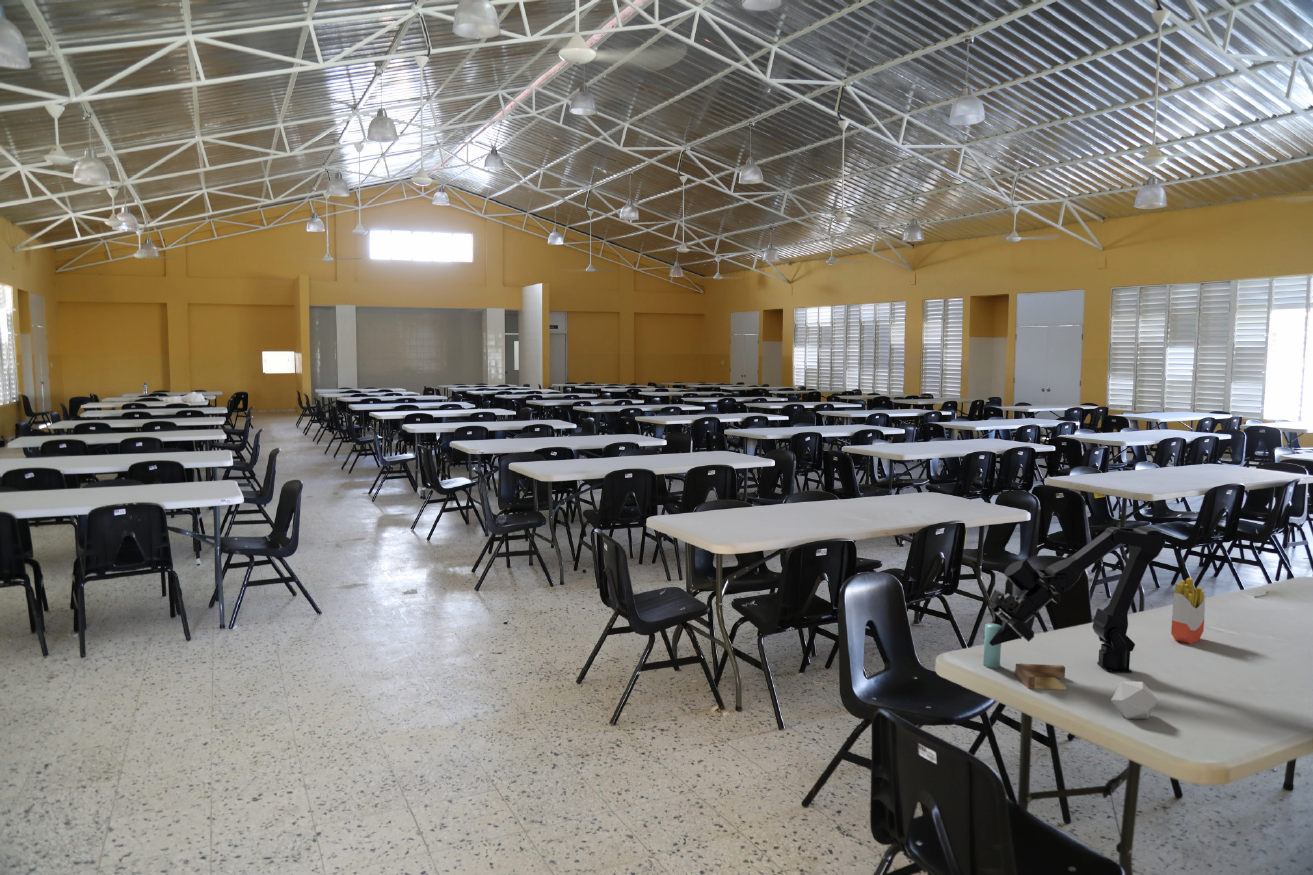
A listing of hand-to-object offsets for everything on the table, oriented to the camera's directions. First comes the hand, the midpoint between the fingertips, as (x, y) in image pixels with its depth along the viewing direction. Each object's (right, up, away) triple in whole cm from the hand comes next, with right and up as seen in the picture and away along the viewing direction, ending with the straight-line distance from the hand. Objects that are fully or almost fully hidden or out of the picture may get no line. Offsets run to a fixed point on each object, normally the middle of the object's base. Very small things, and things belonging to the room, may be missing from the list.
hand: (987, 641), depth 230 cm
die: (+22, -10, -32) cm, 40 cm away
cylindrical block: (+1, -7, +1) cm, 7 cm away
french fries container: (+69, -6, +24) cm, 73 cm away
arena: (+10, -8, -12) cm, 17 cm away
